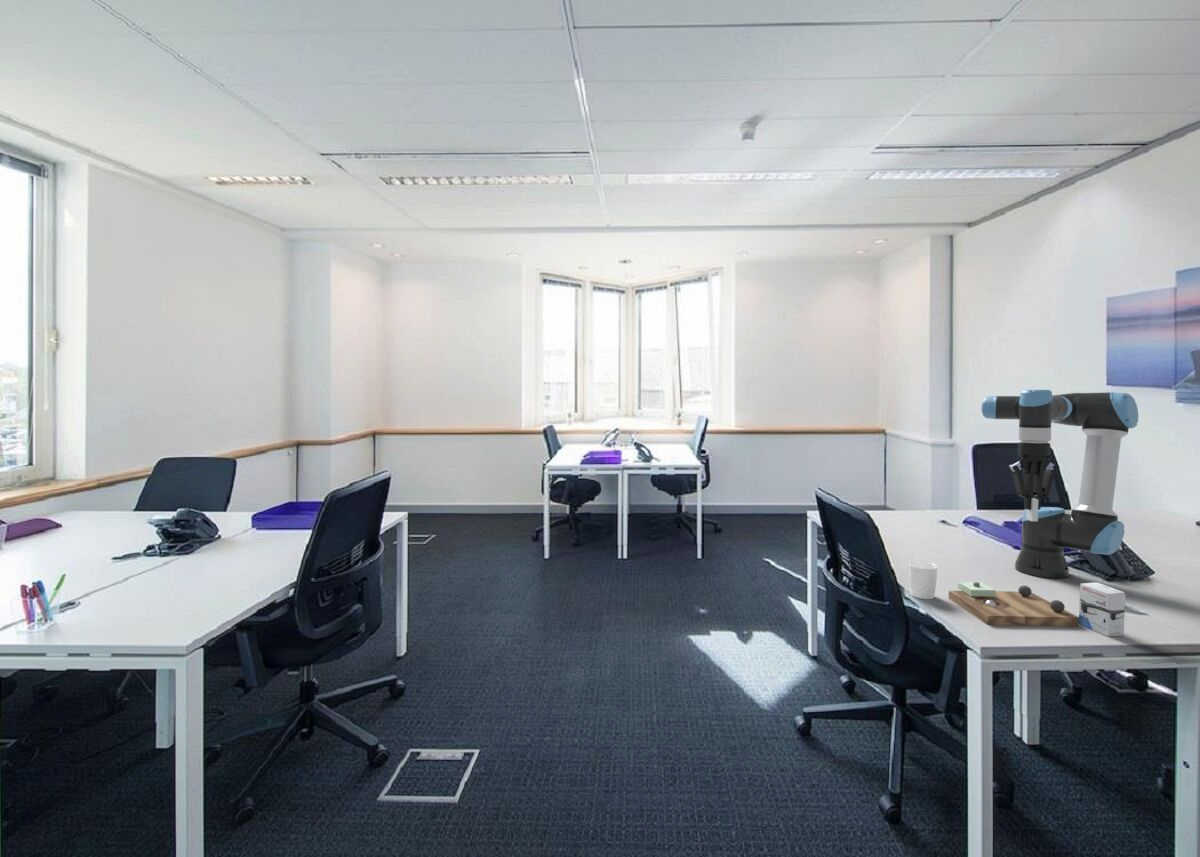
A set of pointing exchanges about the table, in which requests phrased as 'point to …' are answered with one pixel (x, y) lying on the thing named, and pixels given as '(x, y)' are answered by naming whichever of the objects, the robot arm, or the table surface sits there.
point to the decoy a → (1025, 591)
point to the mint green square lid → (976, 589)
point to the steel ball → (991, 603)
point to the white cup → (922, 579)
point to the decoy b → (1057, 606)
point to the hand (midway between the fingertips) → (1031, 520)
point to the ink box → (1102, 609)
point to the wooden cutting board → (1013, 609)
